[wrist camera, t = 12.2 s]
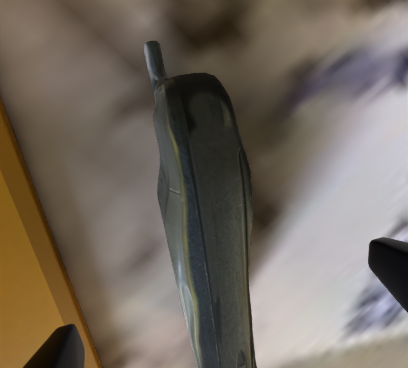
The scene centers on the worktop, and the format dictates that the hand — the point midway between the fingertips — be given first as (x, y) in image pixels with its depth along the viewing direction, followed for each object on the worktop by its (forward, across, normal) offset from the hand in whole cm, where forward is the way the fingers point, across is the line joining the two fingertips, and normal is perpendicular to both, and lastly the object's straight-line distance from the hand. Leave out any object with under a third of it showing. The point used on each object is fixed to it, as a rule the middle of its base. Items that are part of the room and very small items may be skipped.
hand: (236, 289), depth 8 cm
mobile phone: (+6, 0, 0) cm, 6 cm away
